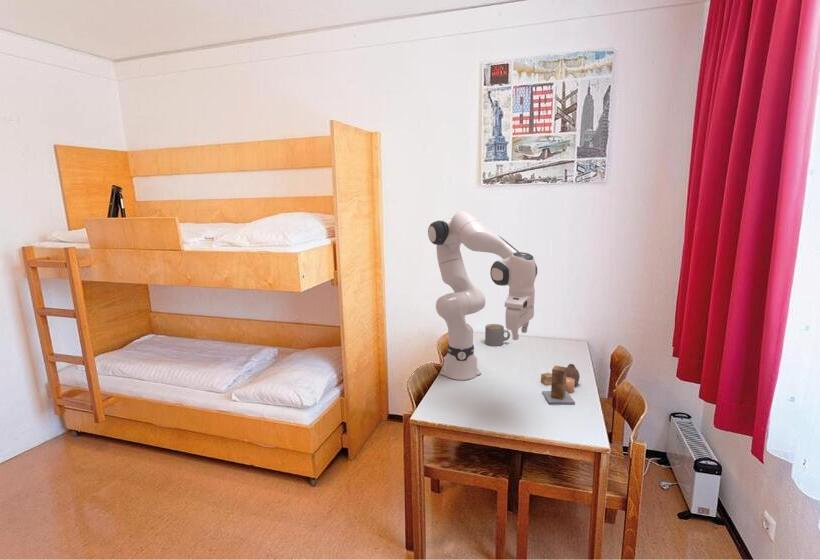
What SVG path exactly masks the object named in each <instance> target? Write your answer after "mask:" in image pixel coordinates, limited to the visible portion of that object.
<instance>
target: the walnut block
mask: <svg viewBox="0 0 820 560" xmlns="http://www.w3.org/2000/svg"><path fill="white" fill-rule="evenodd" d="M566 372H567V367H565V366H559V365H554V366H553V367H552V369H551V374H552V385H550V386H551V388H550V391H551V398H556V399H560V400H563V398H564V397H565V390H566Z"/></svg>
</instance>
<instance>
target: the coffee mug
mask: <svg viewBox="0 0 820 560" xmlns="http://www.w3.org/2000/svg"><path fill="white" fill-rule="evenodd" d="M484 327H485V333H484V336H485V337H484V344H485V345H486V346H489V347H492V348H493V347H494V346H495V348H497V346H498V347H502V346H503V345H504V342H505V341H507V340H509V339H510V337H511V331H510V330H508V329H505V327H504V325H502V324H498V323H489V324H486V325H485V326H484ZM505 333H507V336H505Z"/></svg>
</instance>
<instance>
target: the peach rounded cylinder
mask: <svg viewBox="0 0 820 560" xmlns="http://www.w3.org/2000/svg"><path fill="white" fill-rule="evenodd" d="M574 384H575V379H573V378H571V377H566V390H565V391H567V392H568V394H573V393H575V386H574Z"/></svg>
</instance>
